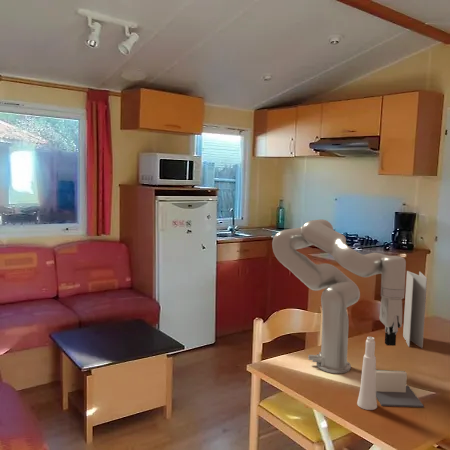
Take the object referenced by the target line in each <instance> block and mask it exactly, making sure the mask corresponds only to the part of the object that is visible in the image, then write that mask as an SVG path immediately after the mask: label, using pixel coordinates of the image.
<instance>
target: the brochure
mask: <svg viewBox="0 0 450 450" xmlns="http://www.w3.org/2000/svg"><path fill="white" fill-rule="evenodd" d="M427 285H428V278H427V277H426V275H424V274H423V273H422V272H421V271H419V272H418V274H417V273H414V272H411V271H410V270H406V277H405V294H404V299H405V300H404V310H403V311H404V314H403V327H402V328H403V333H402V336H403V338H404V340H406V341H405V342H406V344H407V346H408V348H410V346H411V342H412V343H413V344H415V345H417V346H418V347H420V348H421V349H423V347H424V332H425V318H426V316H425V314H426V305H427V303H426V302H427Z"/></svg>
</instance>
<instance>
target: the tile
mask: <svg viewBox="0 0 450 450" xmlns="http://www.w3.org/2000/svg"><path fill="white" fill-rule="evenodd" d="M407 376H408V373H407V372H406V370H385V369H382V370H381V369H376V391H381V392H406V385H407V379H408V378H407Z"/></svg>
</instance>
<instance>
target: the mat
mask: <svg viewBox="0 0 450 450" xmlns="http://www.w3.org/2000/svg"><path fill="white" fill-rule="evenodd" d="M376 400H377V402H379V404H380V406H381V407H399V408H403V407H404V408H424V407H425V406H424V404H423V403H422V402H421V400H420V399H419V398H418V396H417V395H416V393H414V391H413V389H411V387H410V385H408V384H406V392H381V391H376Z"/></svg>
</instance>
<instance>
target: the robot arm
mask: <svg viewBox="0 0 450 450" xmlns="http://www.w3.org/2000/svg"><path fill="white" fill-rule="evenodd" d="M346 242H347V238H346V236H345V234H342V233H340V232H338V231H336V230H334V227H333V225H332V223H330V222H329V221H328V220H327V219H314V220H309V221H307V222H305V223H304V224H303V225H302V226H300V227H297V228H296V227H295V228H289V229H283V230H280V231H278V232H277V233H275V235H274V236H273V238H272V242H271V245H272V247H271V248H272V252H273V254H274V256H275V258H276V259H277V261H278V262H279V263H280V264H281V265H283V267H285V268H286V269H288V270H289V272H291V273H292V274H293V275H294V276H295V277H296V278H297V279H298V280H300V282H301V283H303V284H304V285H305V286H306V287H307V288H309V290H312V291H321V290H323V291H322V293H321V296H320V303H321V313H322V316H321V317H322V318H321V319H322V321H321V349H320V350H321V351H319V354H308V356H307V357H308V358H307V359H308V360H309V361H310V360H311V361H312V362H313V363H316V367H317V368H318V369H319V370H321V371H324V372H327V373H331V374H345V373H348V372H350V371H351V369H352V366H351V364H350V362H348V346H349V345H348V344H349V323H350V321H349V315H348V309H347V308H348V307H351V306H352V305H355V304H357V302H358V301H359V300H360V298H361V292H360V291H361V290H360V289H359V286H358V285H357V284H356V283H355V281H353V280H352V279H351V278H350V277H348V276H347V275H346V274H345V273H344V272H343V271H341V269H339V268H338V267H336V266H334V265H333V264H330V263H326V262H325V263H320V264H318V263H315V262H314V261H312V260H311V259H310V258H309V257H308V256H307V255H305V254H304V253H301V252H299V251H298V250H299V249H300V250H301V249H305V248H308V247H312V246H315V247H317V248H318V249H320V250H322V251H324V252H325V253H327V254H329V255H331V256H332V257H333V259H334V260H335V261H336V263H338V265H339V266H341V267H342V268H344V269H345V270H347V271H349V272H350V273H352V274H353V275H356V276H358V277H360V278H361V277H362V278H370V277H373V276H375V275H380V274H381V277H380V278H381V282H380V297H381V299H380V305H379V306H380V309H379V321H380V322H381V323H382V324H383V325H384V332H385V333H384V344H385V345H386V346H393V347H394V346H396V344H397V333H398V332H399V329H400V328H402V326H403V325H402V324H403V299H405V291H406V268H407V267H406V264H407V262H406V258H404V257H402V256H399V255H387V254H384V253H380V252H371V253H367V254H366V253H365V254H363V253H360V252H358V251H356V250H355V249H354V248H351V247H350V246H349V245H348V244H347V243H346Z"/></svg>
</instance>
